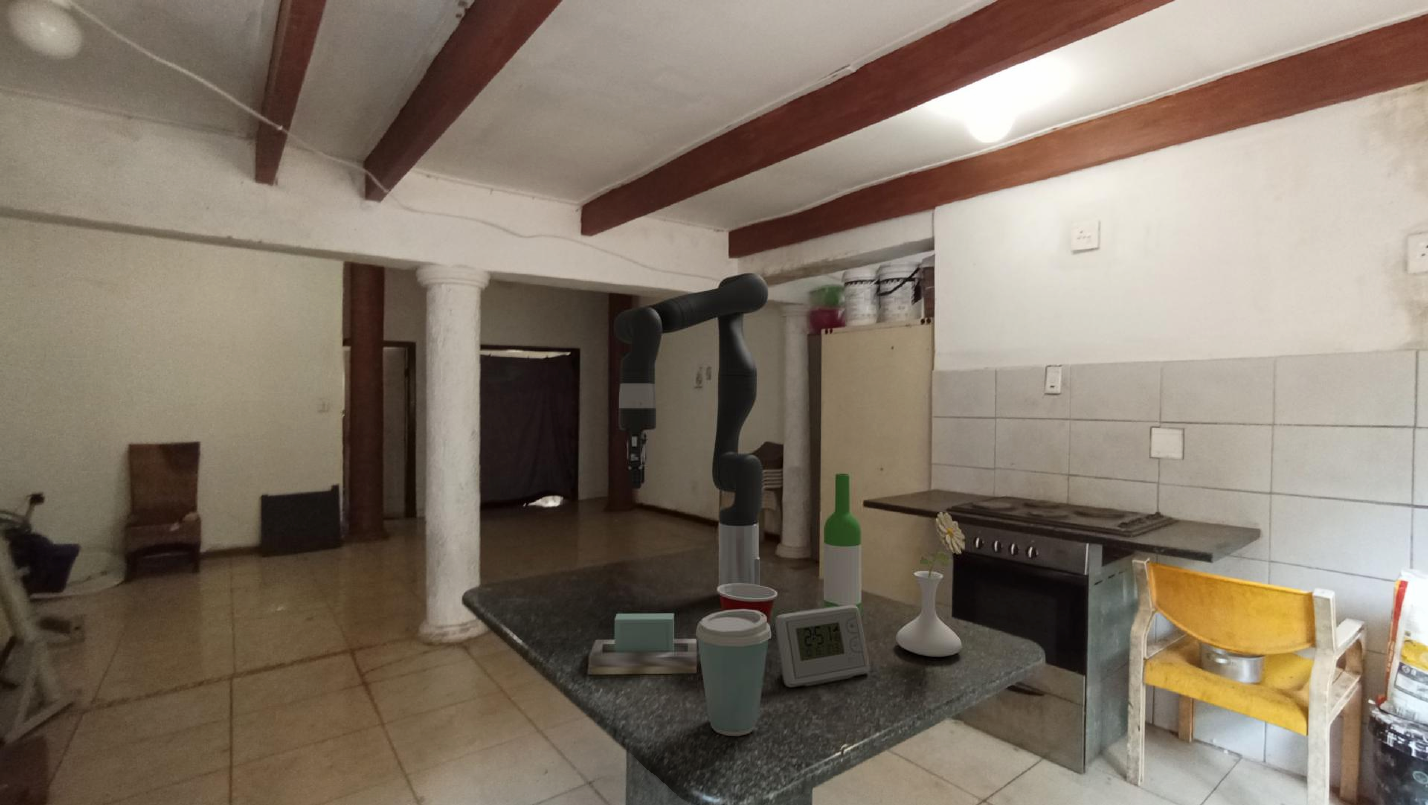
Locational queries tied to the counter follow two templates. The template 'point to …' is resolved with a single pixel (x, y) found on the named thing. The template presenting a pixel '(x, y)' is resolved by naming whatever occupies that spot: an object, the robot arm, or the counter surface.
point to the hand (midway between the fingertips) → (637, 485)
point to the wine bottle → (842, 551)
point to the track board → (643, 659)
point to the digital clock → (821, 645)
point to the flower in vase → (933, 600)
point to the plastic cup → (747, 597)
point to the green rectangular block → (644, 633)
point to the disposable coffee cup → (733, 667)
